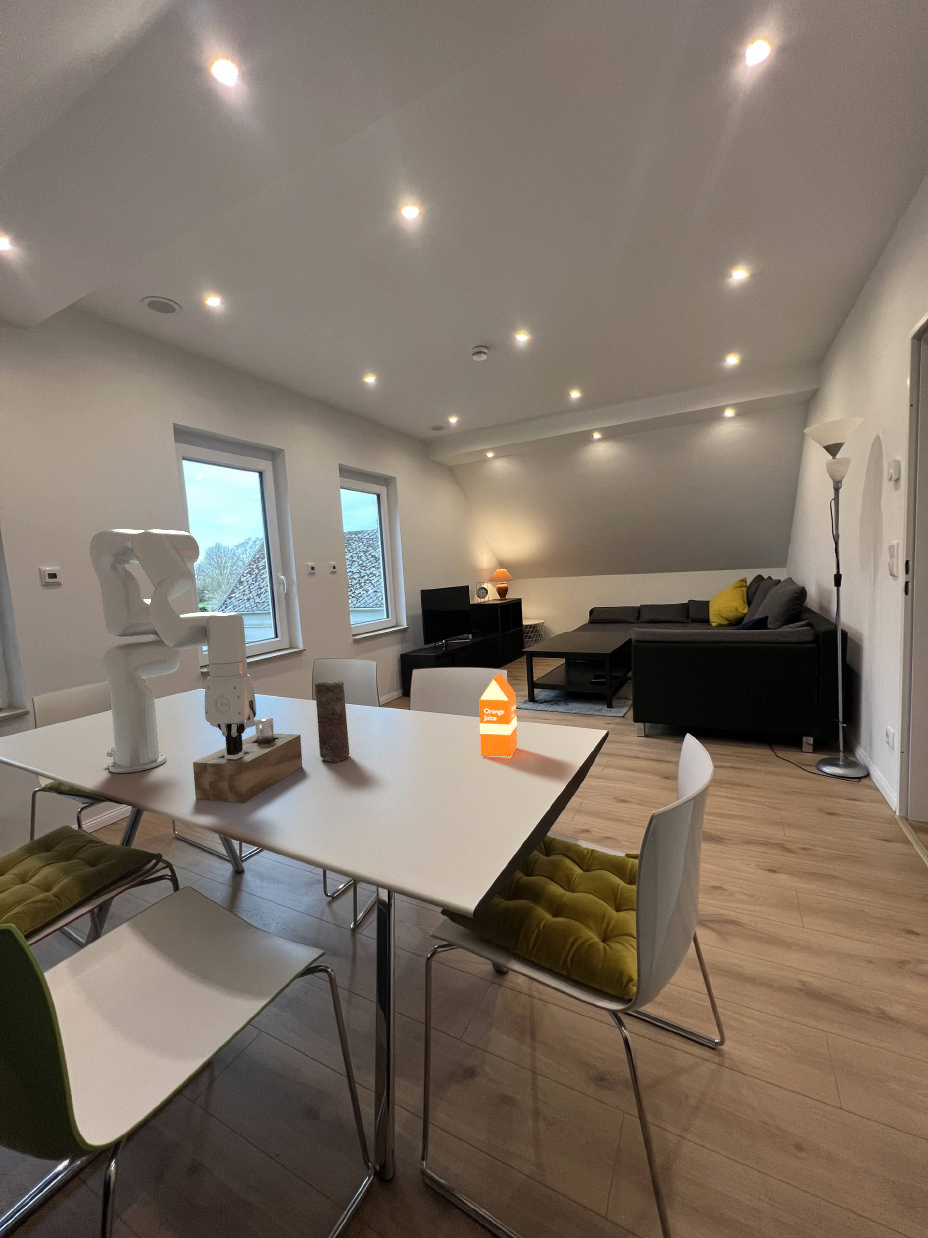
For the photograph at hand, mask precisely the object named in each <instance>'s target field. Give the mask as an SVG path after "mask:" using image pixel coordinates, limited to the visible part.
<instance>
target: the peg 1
mask: <svg viewBox="0 0 928 1238" xmlns="http://www.w3.org/2000/svg"><path fill="white" fill-rule="evenodd" d="M242 756H244V751H243V750H242V751H241V752H239V753H237V754H235V755H231V754H230V755H227V752H226V753H225V754H224V757H225V759H238V758H240V757H242Z"/></svg>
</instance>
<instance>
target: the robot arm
mask: <svg viewBox="0 0 928 1238" xmlns="http://www.w3.org/2000/svg"><path fill="white" fill-rule="evenodd" d="M199 546H200V545H199V544H198V541H197V540H196V538H195V537H194V536H193V535H192V534H190V533H189V532H185V531H179V530H163V529H146V530H138V529H137V530H135V529H121V528H117V529H116V528H113V529H111V528H110V529H104V530H100V531H98V532H97V533H94V535H93V536H92V537H91V540H90V543H89V549H88V550H89V559H90V563H91V565H92V568H93V571H94V573H95V575H96V577H97V581H98V582H99V586H100V587H99V588H100V594H101V603H102V611H103V617H104V618H103V619H104V623H105V628H106V631H107V633H108V634H109V635H110V636H111V637H113V638H120V639H123V638H124V639H127V638H135V637H136V638H137V637H144V636H146V637H148V636H150V637H151V640H145V641H144V640H143V641H134V642H126V643H120V644H116V645H113V646H111V647H110V648H108V649H107V650H106V651H105V652H104V654H103V656H102V667H103V671H104V674H105V677H106V681H107V684H108V689H109V690H108V691H109V696H110V704H111V705H110V706H111V707H110V708H111V715H112V716H111V719H112V728H113V730H112V731H113V739H114V747H111V748H110V751H108V752H106V757H108V758H112V760H113V761H112V762H111V763H110V764H109V766H108V768H109V771H110V772H111V773H115V774H129V773H135V772H141V771H145V770H150V769H153V768H156V767H158V766H160V765H162V764H164V763H165V762H166V761H167V755H166V754H165V753H161V752H160V750H159V747H160V746H159V737H158V736H159V735H158V725H157V712H156V711H157V709H156V699H155V694H154V692H153V690H152V689H151V688H150V686H148V685H147V684H146V682H145V681H144V679H145V680H146V679H148V678H155V677H159V676H164V675H169V674H172V673H174V672H175V671H177V670H178V668H179V666H180V662H181V652H180V651H181V650H184V649H192V648H193V649H194V648H198V647H199V648H200V647H207V656H208V658H207V659H208V664H206V670H207V671H208V672H209V676H208V677H206V681H205V689H204V717H205V718H204V719H205V721H206V722H208V723H209V724H210V726H211V727H214V728H217V729H219V730H220V731H221V735H222V736H223V737H225V748H226V750H227V755H230V754H231V755H235V754H237V753H239V752H241V751H242V750H243V743H242V740H243V734H245V731H246V730H247V729H248V728H252V727H254V726H255V720H256V719H255V718H256V717H257V704H256V695H255V691H254V690H255V689H254V685H253V681H252V678H251V674H249V673H248V661H247V660H248V659H247V649H246V648H247V647H246V646H247V645H246V634H245V633H246V631H245V621H244V620H245V619H244V616H243V615H241V613H240V612H220V611H208V612H207V611H206V612H191V613H177V612H176V611H175V610H174V608H173V605H172V604H171V603H170V601H172V600H174V599H176V598H178V597H179V596H181V595H182V594H185V592H187V591H189V589H190V588H192V585H193V584H194V579H195V577H194V574H193V572H192V570H191V569H190V568H189V566H191V565H194V564H195V563H197V562H198V560H199V557H200V547H199ZM126 565H140V567H141V568H142V570H143V571H144V573H145V574H146V576H147V578H148V579H149V581H150V583H151V584H152V586H153V588H154V590H153V592H152V594H151V596H150V598H149V599H148V598H147V599H145V598H144V599H143V596H142V591H141V584H140V581H139V578H138V577H137V576H136V575H135V573H133V571H132V570H131V569H130V568H129V567H127V566H126Z"/></svg>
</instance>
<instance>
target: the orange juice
mask: <svg viewBox="0 0 928 1238" xmlns="http://www.w3.org/2000/svg"><path fill="white" fill-rule="evenodd" d="M516 695H517V693H516V692H515V691H514V689H513V687H512V686H511V685H510V683H509V682H508V680H507V679H506V677H505V676H504V675H503V673H502V672H499V673H498V674H497V675H495V676H494V677H492V680H491V682H490V684H489V685H488V686H487V688H486V689H485V690H484V692H483V694H482V695H481V697H480V698H479V699H478V708H479V734H480V735H479V736H480V739H479V741H480V757H481V756H507V757H508V756H509V757H510V756H511V755H512V753H513V752H514V750H515V748H516V746H517V747H518V732H517V731H518V730H517V729H518V728H517V726H518V724H517V723H518V721H517V719H518V718H517V700H516V699H517V697H516ZM514 753H515V752H514ZM512 756H513V755H512Z"/></svg>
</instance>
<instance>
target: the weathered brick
mask: <svg viewBox="0 0 928 1238" xmlns="http://www.w3.org/2000/svg"><path fill="white" fill-rule="evenodd" d="M314 688H315V690H314V691H315V692H314V693H315V702H316V712H317V713H316V716H317V731H318V732H317V733H318V748H319V756H320V758H321V759H323V761H324V760H325V761H328V762H330V763H338V762H341V761H343V760H346V759H347V758H348V757H349V756H350V743H349V742H350V741H349V733H348V723H347V721H348V720H347V712H346V711H347V708H346V698H345V686H344V681H343V680H339V681H337V682H335V681H334V682H326V681H325V682H324V681H323V682H318V683H317V682H316V683H314Z"/></svg>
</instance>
